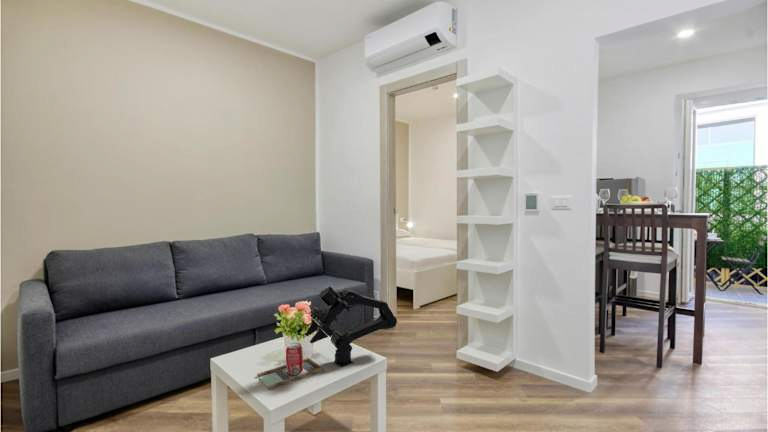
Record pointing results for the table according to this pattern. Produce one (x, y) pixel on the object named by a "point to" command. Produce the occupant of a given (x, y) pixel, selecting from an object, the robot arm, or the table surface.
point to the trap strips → (285, 377)
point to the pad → (270, 379)
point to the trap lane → (293, 377)
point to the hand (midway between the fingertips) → (307, 339)
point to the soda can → (294, 358)
